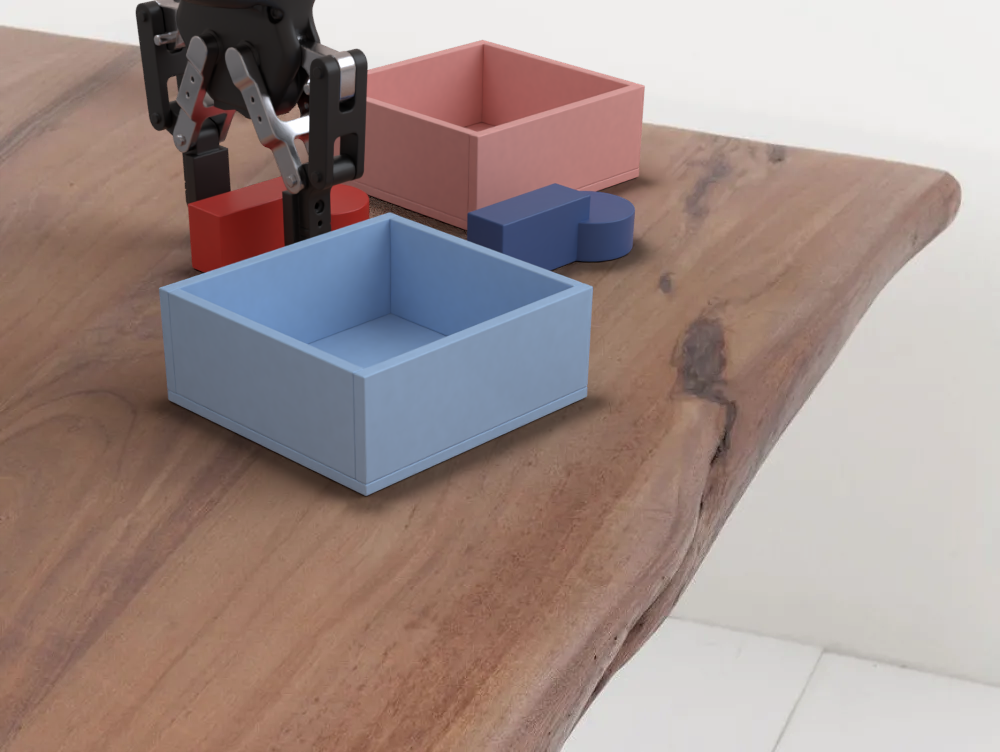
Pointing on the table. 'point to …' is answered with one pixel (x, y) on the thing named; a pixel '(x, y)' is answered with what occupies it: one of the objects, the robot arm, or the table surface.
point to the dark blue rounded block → (555, 226)
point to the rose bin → (493, 129)
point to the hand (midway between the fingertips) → (258, 242)
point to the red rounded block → (256, 221)
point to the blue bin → (376, 348)
